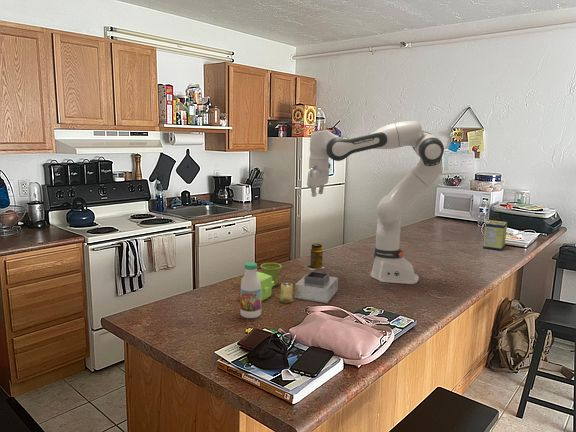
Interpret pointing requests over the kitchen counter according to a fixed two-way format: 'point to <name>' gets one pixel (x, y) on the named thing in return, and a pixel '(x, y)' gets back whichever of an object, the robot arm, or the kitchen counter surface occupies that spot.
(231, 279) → the kitchen counter surface
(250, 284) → the milk bottle
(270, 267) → the plant pot
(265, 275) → the green teapot
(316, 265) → the condiment
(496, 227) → the protein box
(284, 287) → the tan cylinder
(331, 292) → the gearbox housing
